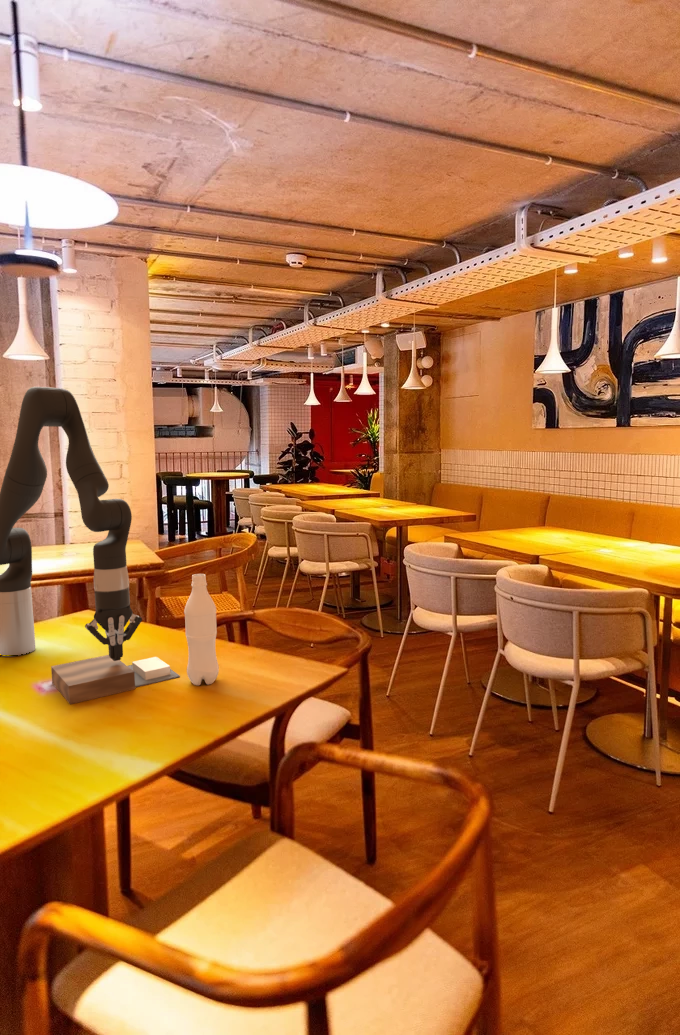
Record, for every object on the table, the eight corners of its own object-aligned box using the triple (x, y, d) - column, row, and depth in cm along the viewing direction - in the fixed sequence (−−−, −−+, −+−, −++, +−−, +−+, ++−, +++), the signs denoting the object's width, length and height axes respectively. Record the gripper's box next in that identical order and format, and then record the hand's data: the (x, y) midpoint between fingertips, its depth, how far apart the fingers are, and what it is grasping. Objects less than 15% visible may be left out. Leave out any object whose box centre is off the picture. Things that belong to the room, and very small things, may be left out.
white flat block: (156, 656, 164) (156, 664, 164) (132, 661, 160) (132, 669, 160) (170, 666, 156) (170, 674, 157) (145, 671, 153) (145, 680, 153)
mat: (113, 669, 161) (113, 668, 161) (156, 660, 168) (156, 659, 168) (133, 687, 149) (133, 686, 149) (180, 676, 156) (179, 675, 156)
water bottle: (225, 678, 154) (221, 573, 151) (206, 689, 147) (202, 579, 145) (200, 674, 157) (195, 571, 154) (180, 684, 150) (175, 576, 148)
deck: (52, 683, 153) (51, 666, 153) (113, 669, 161) (112, 654, 161) (69, 704, 140) (68, 686, 140) (135, 688, 148) (134, 671, 148)
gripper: (135, 579, 158) (139, 650, 160) (77, 587, 151) (82, 661, 153) (145, 585, 152) (149, 658, 154) (86, 593, 145) (91, 670, 147)
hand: (116, 659), depth 153 cm, fingers closed
